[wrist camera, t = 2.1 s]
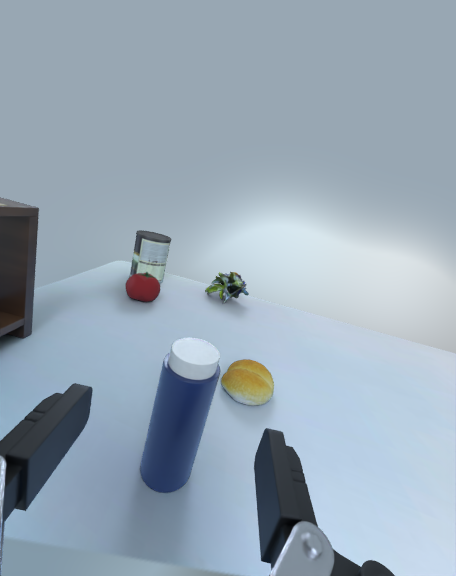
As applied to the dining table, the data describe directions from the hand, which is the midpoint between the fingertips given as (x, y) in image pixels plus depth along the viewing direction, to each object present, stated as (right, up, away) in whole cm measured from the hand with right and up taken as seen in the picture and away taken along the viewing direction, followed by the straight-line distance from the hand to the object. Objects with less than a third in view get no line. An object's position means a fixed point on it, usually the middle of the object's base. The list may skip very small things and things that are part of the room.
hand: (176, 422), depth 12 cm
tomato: (-20, +3, +54) cm, 58 cm away
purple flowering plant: (+1, +2, +71) cm, 71 cm away
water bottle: (-4, -12, +15) cm, 20 cm away
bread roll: (+5, -11, +31) cm, 33 cm away
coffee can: (-24, +9, +71) cm, 76 cm away
